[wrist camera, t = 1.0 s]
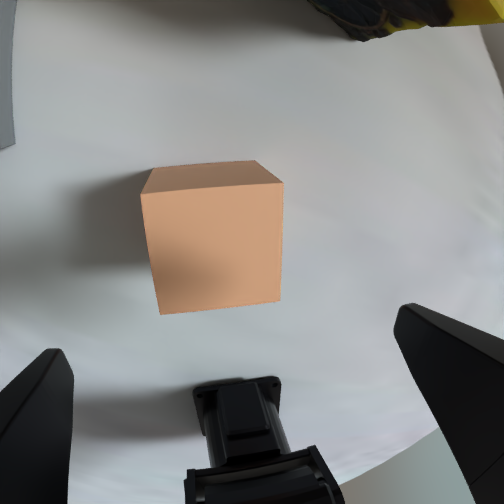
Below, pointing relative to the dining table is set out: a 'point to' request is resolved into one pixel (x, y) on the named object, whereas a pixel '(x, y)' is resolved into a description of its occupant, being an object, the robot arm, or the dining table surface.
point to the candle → (407, 14)
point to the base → (6, 72)
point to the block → (214, 235)
